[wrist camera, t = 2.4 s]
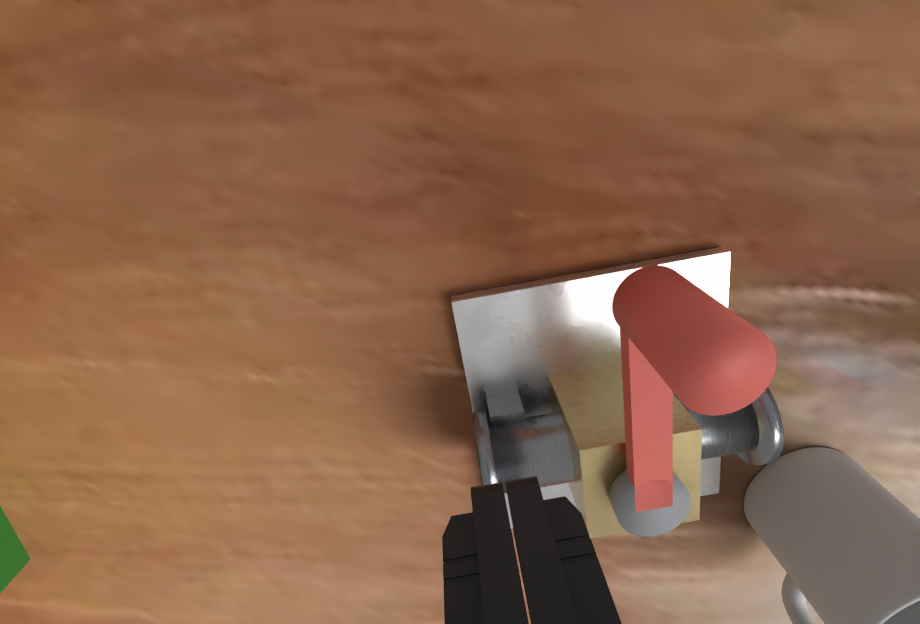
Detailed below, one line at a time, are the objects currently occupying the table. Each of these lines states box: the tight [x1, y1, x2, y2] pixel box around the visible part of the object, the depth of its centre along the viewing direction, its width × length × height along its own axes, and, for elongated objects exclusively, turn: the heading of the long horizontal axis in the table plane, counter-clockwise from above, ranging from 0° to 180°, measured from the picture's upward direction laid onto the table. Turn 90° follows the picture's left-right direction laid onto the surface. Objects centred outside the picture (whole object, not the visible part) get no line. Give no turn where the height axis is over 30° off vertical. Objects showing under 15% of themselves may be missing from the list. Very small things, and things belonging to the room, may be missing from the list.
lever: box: [609, 265, 777, 537], centre depth 20 cm, size 14×4×7 cm, turn 10°
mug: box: [744, 447, 920, 624], centre depth 33 cm, size 12×8×11 cm
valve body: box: [451, 247, 784, 539], centre depth 29 cm, size 16×18×8 cm
